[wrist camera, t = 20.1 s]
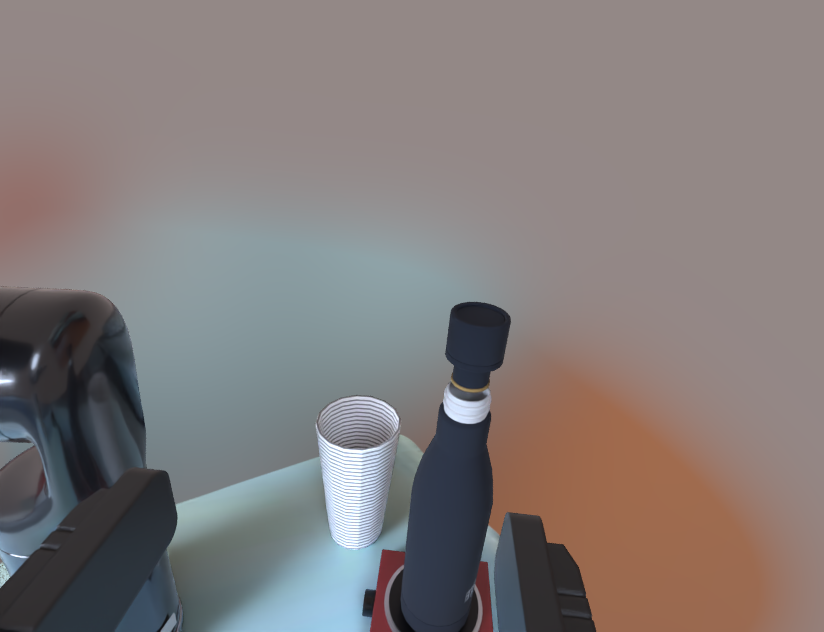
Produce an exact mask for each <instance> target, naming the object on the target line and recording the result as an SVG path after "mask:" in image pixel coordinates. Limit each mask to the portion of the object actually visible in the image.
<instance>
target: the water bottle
mask: <svg viewBox="0 0 824 632" xmlns="http://www.w3.org/2000/svg"><path fill="white" fill-rule="evenodd" d="M510 323H511V319H510V316H509V315H508V313H506V312H505V311H504V310H503V309H501V308H499V307H497V306H494V305H491V304H487V303H481V302H466V303H460V304H458V305H455V306H454V307H453V308H452V310H451V314H450V322H449V329H448V337H447V345H446V353H445V355H446V357H447V359H448V360H449V361H450V362H451V363H452V364H453V365H454V369H453V373H452V376H451V381H450V382H449V383H448V386H447V387H446V389H445V391H444V399H443V402H442V403H441V405H440V408H439V414H438V421H437V430H436V435H435V436H434V438H433V439H432V441H431V443H430V444H429V446H428V448H427V449H426V451H425V453H424V454H423V456H422V459H421V461H420V464H419V466H418V469H417V472H416V475H415V478H414V482H413V486H412V494H411V503H410V513H409V522H408V532H407V541H406V551H405V560H404V570H403V579H402V589H401V598H400V601H401V609H402V613H403V615H404V617H405V619H406V622H407V623H408V624H409V625H410V626H411V627H412V628H413V630H414V631H416V632H458V631H459V630H460V629H461V628H462V627H463V626H464V625H465V622H466V620H467V617H468V615H469V610H470V606H471V601H472V596H473V592H474V587H475V583H476V578H477V573H478V569H479V564H480V560H481V555H482V550H483V546H484V541H485V537H486V532H487V527H488V523H489V518H490V514H491V509H492V504H493V478H492V467H491V463H490V458H489V453H488V449H487V445H486V443H487V438H488V432H489V427H490V422H491V413H490V403H491V395H490V389H489V383H490V380H489V377H490V372H491V371H494V370H496V369H498V368H500V366H501V365H502V363H503V359H504V354H505V348H506V344H507V338H508V333H509V328H510Z"/></svg>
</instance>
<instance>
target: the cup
mask: <svg viewBox="0 0 824 632" xmlns="http://www.w3.org/2000/svg"><path fill="white" fill-rule="evenodd" d="M315 424H316V430H317V438H318V446H319V454H320V462H321V469H322V477H323V485H324V492H325V500H326V508H327V515H328V523H329V529H330V533H331V537H332V538H333V539H334V541H335V542H336V543H337V544H338V545H340V546H342V547H344V548H346V549H353V550H359V549H362V548H366V547H368V546H370V545H371V544H372V543H374V542H375V541H376V540H377V538H378V537H379V535H380V533H381V531H382V525H383V520H384V515H385V509H386V504H387V499H388V493H389V488H390V483H391V477H392V472H393V467H394V461H395V456H396V451H397V445H398V440H399V435H400V428H401V418H400V416H399V414H398V412H397V410H396V409H395V408H394V407H393V406H391V405H390V404H388V403H387V402H386V401H384V400H381V399H378V398H375V397H372V396H361V395H354V396H349V397H343V398H339V399H337V400H335V401H333V402H331V403H329V404H328V405H326V406H325V407H324V408H323V409H322V410H321V411H320V412H319V414H318V417H317V420H316V423H315Z"/></svg>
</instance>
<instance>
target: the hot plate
mask: <svg viewBox="0 0 824 632" xmlns="http://www.w3.org/2000/svg"><path fill="white" fill-rule="evenodd" d="M404 560H405V552H400V551H392V550H384V549H383V550H382V555H381V562H380V568H379V575H378V582H377V588H376V590H370V589H366V591H365V597H364V603H363V613H362V615H363V616H366V617H372V621H371V628H370V632H416V631H414V630H413V628H412V627H411V626H410V625H409V624H408V623H407V622H406V619H405V617H404V615H403V613H402V609H401V601H400V598H401V589H402V579H403V570H404ZM458 632H493V622H492V610H491V597H490V585H489V572H488V562H483V561H480V564H479V569H478V573H477V578H476V583H475V587H474V592H473V596H472V601H471V606H470V610H469V615H468V617H467V620H466V622H465V625H464V626H463V627H462V628H461V629H460V630H459V631H458Z"/></svg>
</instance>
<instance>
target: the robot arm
mask: <svg viewBox="0 0 824 632" xmlns="http://www.w3.org/2000/svg"><path fill="white" fill-rule="evenodd" d="M0 442H26V443H33V444H34V446H32V447H30V448H29V449H27V450H25V451H24V452H22V453H20V454H19V455H18V456H16V457H15V458H13V459H12V460H11V461H9V462H8V463H7V464H6V465H5V466H4V467H2V468H1V469H0V557H1V559H2V561H3V563H4V565H5V567H6V569H7V571H8V573H9V575H10V578H9V579H8V580H7V581H6V583H5V584H4V585H3V586H2V587H1V588H0V632H181V629H182V625H183V609H182V605H181V601H180V598H179V596H178V594H177V590H176V586H175V581H174V577H173V573H172V568H171V564H170V560H169V556H168V552H167V547H168V545H169V544H170V542H171V540H172V538H173V535H174V533H175V530H176V525H177V511H176V506H175V502H174V498H173V493H172V488H171V483H170V479H169V475H168V473H167V472H166V471H162V470H154V469H147V467H146V429H145V423H144V416H143V410H142V405H141V399H140V393H139V387H138V380H137V373H136V366H135V359H134V353H133V348H132V342H131V339H130V335H129V331H128V328H127V326H126V323H125V321H124V319H123V317H122V315H121V313H120V312H119V310H118V309H117V307H116V306H115V305H114V304H113V303H112V302H111V301H110V300H109V299H107V298H106V297H104V296H103V295H101V294H98V293H95V292H90V291H84V290H72V289H50V288H28V287H7V286H0ZM494 583H495V595H496V606H497V617H498V628H499V632H596V628H595V625H594V621H593V620H592V614H591V610H590V606H589V603H588V599H587V598H586V592H585V588H584V585H583V581H582V577H581V573H580V570H579V567H578V565H577V564H576V562H575V561H574V560H573V558H572V557H571V555H570V554H569V552H568V551H567V549H566V548H565V546H564V545H563V544H554V543H547V541H546V536H545V532H544V528H543V523H542V520H541V518H540V516H535V515H527V514H518V513H509V512H507V513H506V515H505V518H504V523H503V527H502V531H501V535H500V539H499V543H498V547H497V552H496V557H495V566H494Z"/></svg>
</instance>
